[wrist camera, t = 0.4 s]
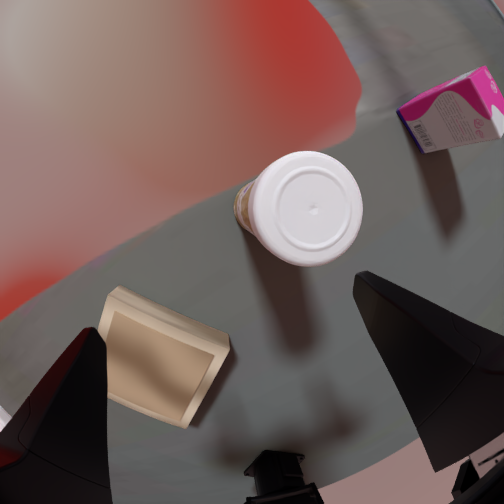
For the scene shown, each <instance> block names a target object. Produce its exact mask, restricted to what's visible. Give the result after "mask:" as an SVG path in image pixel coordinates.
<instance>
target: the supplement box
mask: <svg viewBox="0 0 504 504" xmlns="http://www.w3.org/2000/svg"><path fill="white" fill-rule="evenodd" d="M396 112H397V114H398V115H399V117H400V118H401V120H402V121H403V123H404V124H405V126H406V128H407V129H408V131H409V132H410V134H411V136H412V137H413V139H414V141H415V143H416V144H417V146H418V148H419V150H420V152H421V153H422V154H424V153H429V152H434V151H438V150H443V149H448V148H453V147H458V146H462V145H468V144H473V143H478V142H484V141H490V140H496V139H500V138H501V137H502V135H503V133H504V98H503V96H502V94H501V92H500V90H499V88H498V87H497V85H496V83H495V81H494V79H493V78H492V76H491V74H490V72H489V71H488V69H487V67H486V66H483V67H480V68H477V69H475V70H472V71H470V72H468V73H466V74H463V75H461V76H458V77H456V78H454V79H452V80H449V81H447V82H445V83H443V84H441V85H438V86H436V87H434V88H432V89H430V90H428V91H425V92H423V93H421V94H419V95H418V96H416V97H415V98H413V99H412V100H410V101H409V102H407V103H406V104H404V105H403V106H401V107H400V108H398V109H397V110H396Z"/></svg>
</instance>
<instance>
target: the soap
mask: <svg viewBox="0 0 504 504" xmlns="http://www.w3.org/2000/svg"><path fill="white" fill-rule="evenodd" d="M11 418H12V417H11V416H10V415H9V414H8V413H7V412H6V411H5V410H4V409H3V408H2V407H1V406H0V432H1V431H2V429H3V428H4V427H5V426H6V424H7V423H8V422H9V421H10V420H11Z"/></svg>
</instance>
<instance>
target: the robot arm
mask: <svg viewBox="0 0 504 504" xmlns="http://www.w3.org/2000/svg"><path fill="white" fill-rule="evenodd" d="M353 297H354V300H355V302H356V304H357V307H358V309H359V311H360V314H361V316H362V318H363V321H364V323H365V326H366V328H367V330H368V333H369V335H370V337H371V339H372V340H373V342H374V344H375V346H376V348H377V350H378V352H379V353H380V355H381V357H382V359H383V361H384V363H385V365H386V367H387V369H388V371H389V373H390V375H391V377H392V379H393V381H394V383H395V385H396V387H397V389H398V391H399V393H400V395H401V397H402V399H403V401H404V403H405V405H406V407H407V409H408V411H409V414H410V416H411V418H412V420H413V422H414V424H415V427H416V428H417V431H418V434H419V436H420V438H421V440H422V443H423V445H424V447H425V450H426V452H427V455H428V457H429V459H430V462H431V464H432V467H433V469H434V471H435V472H438V471H440V470H442V469H444V468H446V467H448V466H450V465H452V464H454V463H456V462H457V461H459V460H461V459H463V458H465V457H466V456H469V459H468V460H466V461H465V462H464V463H463V464H462V465H461V466H460V469H459V472H458V475H457V479H456V481H455V485H454V487H453V489H452V492H451V493H452V495H453V498H454V500H453V501H452V502H450V503H449V504H504V336H502V335H500V334H498V333H495V332H493V331H491V330H488V329H486V328H483V327H481V326H479V325H477V324H474V323H472V322H470V321H468V320H466V319H464V318H462V317H460V316H458V315H456V314H454V313H452V312H450V311H448V310H446V309H444V308H442V307H440V306H438V305H437V304H435V303H433V302H431V301H429V300H427V299H425V298H423V297H421V296H419V295H417V294H415V293H413V292H411V291H408V290H406V289H404V288H402V287H400V286H398V285H396V284H394V283H392V282H390V281H388V280H386V279H384V278H382V277H380V276H377V275H375V274H373V273H371V272H369V271H362V272H359V273H357V274H356V275H355V279H354V286H353ZM107 396H108V375H107V346H106V343H105V341H104V340H103V338H102V337H101V335H100V334H99V332H98V331H97V329H96V328H94V327H88V328H84V329H83V330H82V331H81V332H80V333H79V334H78V336H77V337H76V338H75V339H74V340H73V341H72V342H71V344H70V345H69V346H68V347H67V348H66V350H65V351H64V352H63V353H62V354H61V355H60V357H59V358H58V359H57V360H56V362H55V363H54V364H53V365H52V366H51V368H50V369H49V370H48V371H47V373H46V374H45V375H44V376H43V378H42V379H41V380H40V382H39V383H38V384H37V385H36V387H35V388H34V389H33V391H32V392H31V393H30V396H28V397H27V399H26V400H25V401H24V403H23V404H22V405H21V407H20V408H19V409H18V411H17V412H16V413H15V415H14V416H13V417H12V418H11V420H10V421H9V422H8V423H7V424H6V426H5V427H4V428H3V429H2V431H1V432H0V504H113V502H112V495H111V489H110V478H109V466H108V448H107ZM304 458H305V457H304V455H300V454H291V453H283V452H276V451H269V450H265V451H263V452H262V453H261V454H260V455H259V456H258V457H257V458H256V459H255V461H254V462H253V463H252V464H251V465H250V466H249V467H248V468H247V469H246V470H245V471H244V475H245V476H250V477H254V479H255V485H256V490H257V495H258V496H255V497H246V502H245V503H244V504H324V502H323V500H322V498H321V496H320V493H319V492H318V489H317V487H316V485H315V483H314V482H313V483H310V484H308V485H305V482H304V480H303V473H302V470H301V467H300V463H301V462H302V461H303V460H304Z"/></svg>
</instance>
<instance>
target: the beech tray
mask: <svg viewBox="0 0 504 504" xmlns="http://www.w3.org/2000/svg"><path fill="white" fill-rule="evenodd" d="M98 332H99V334H100V335H101V337H102V338H103V340H104V341H105V343H106V346H107V375H108V396H107V397H108V398H110V399H112V400H114V401H116V402H118V403H120V404H122V405H125V406H127V407H129V408H131V409H134V410H136V411H138V412H141V413H143V414H146V415H148V416H151V417H153V418H156V419H158V420H161V421H164V422H167V423H169V424H172V425H175V426H178V427H181V428H184V429H186V428H187V426H188V425H189V423H190V421H191V419H192V418H193V416H194V414H195V412H196V411H197V409H198V407H199V405H200V403H201V402H202V400H203V398H204V396H205V394H206V393H207V391H208V389H209V387H210V385H211V384H212V382H213V380H214V378H215V376H216V374H217V373H218V371H219V369H220V367H221V365H222V363H223V362H224V360H225V358H226V356H227V354H228V352H229V350H230V346H229V336H228V334H227V333H224V332H222V331H219V330H217V329H214V328H212V327H210V326H207V325H205V324H202V323H200V322H198V321H195V320H193V319H191V318H188V317H186V316H184V315H182V314H179V313H177V312H175V311H173V310H171V309H168V308H166V307H164V306H162V305H160V304H158V303H156V302H153V301H151V300H149V299H147V298H145V297H143V296H141V295H139V294H137V293H135V292H133V291H131V290H129V289H127V288H125V287H123V286H121V285H119V286H118V287H117V288H115V289H114V290H113V291H112V292H111V293H109V294H108V296H107V300H106V303H105V306H104V310H103V313H102V317H101V321H100V324H99V328H98Z"/></svg>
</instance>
